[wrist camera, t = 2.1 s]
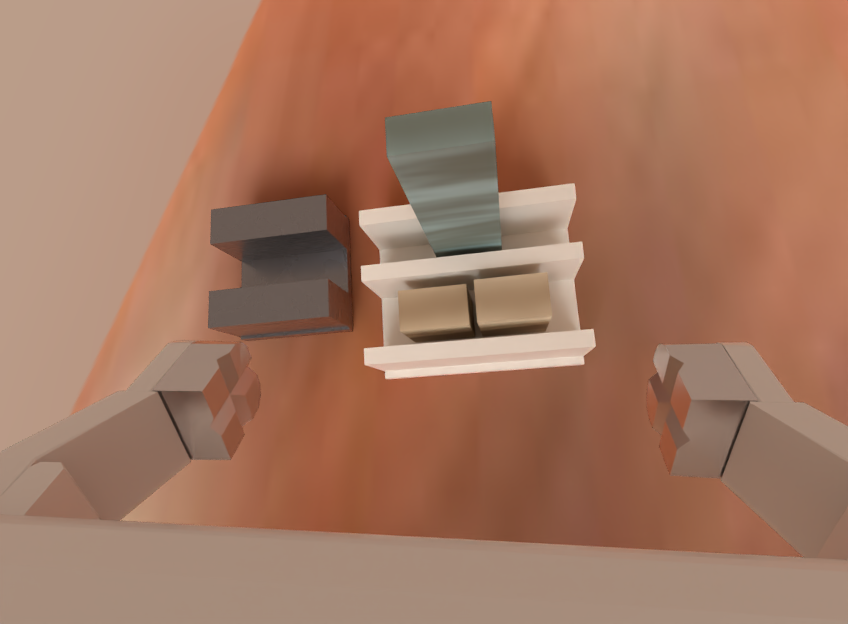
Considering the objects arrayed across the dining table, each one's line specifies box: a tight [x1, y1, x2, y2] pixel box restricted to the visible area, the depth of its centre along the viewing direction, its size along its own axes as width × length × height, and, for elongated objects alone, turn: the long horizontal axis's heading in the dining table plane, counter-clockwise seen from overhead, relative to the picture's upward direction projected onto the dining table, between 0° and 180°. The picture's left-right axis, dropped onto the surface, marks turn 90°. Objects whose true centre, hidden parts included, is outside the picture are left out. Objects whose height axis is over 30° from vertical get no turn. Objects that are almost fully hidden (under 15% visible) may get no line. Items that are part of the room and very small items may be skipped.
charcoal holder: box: [208, 194, 353, 341], centre depth 43 cm, size 10×10×6 cm
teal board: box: [385, 101, 502, 258], centre depth 33 cm, size 2×5×20 cm, turn 94°
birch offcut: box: [398, 284, 475, 342], centre depth 39 cm, size 3×5×6 cm, turn 94°
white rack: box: [359, 183, 596, 379], centre depth 40 cm, size 13×16×7 cm
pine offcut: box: [474, 272, 552, 337], centre depth 38 cm, size 3×5×7 cm, turn 94°
